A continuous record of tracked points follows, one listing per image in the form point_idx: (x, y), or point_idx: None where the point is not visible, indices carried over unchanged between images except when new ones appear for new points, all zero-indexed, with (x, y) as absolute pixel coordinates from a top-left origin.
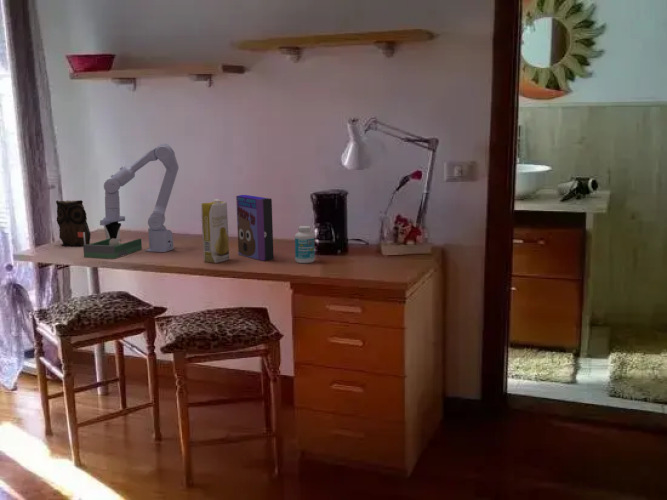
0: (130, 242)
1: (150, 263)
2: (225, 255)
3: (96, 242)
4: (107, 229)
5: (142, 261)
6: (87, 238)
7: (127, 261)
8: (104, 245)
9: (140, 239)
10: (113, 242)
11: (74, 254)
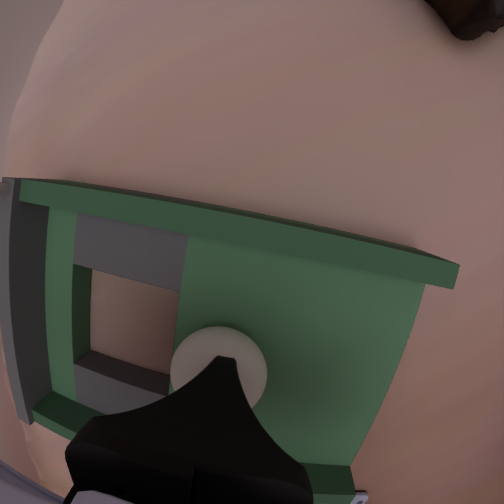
0: None
1: None
2: None
3: (150, 211)
4: (146, 410)
5: (69, 484)
6: (468, 10)
7: (46, 441)
8: (15, 363)
9: (339, 501)
10: (173, 387)
11: (140, 59)
